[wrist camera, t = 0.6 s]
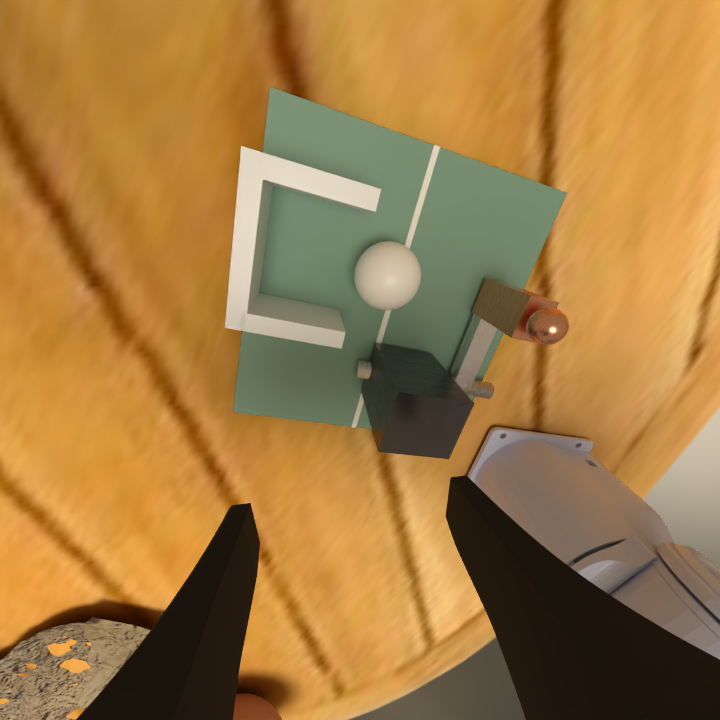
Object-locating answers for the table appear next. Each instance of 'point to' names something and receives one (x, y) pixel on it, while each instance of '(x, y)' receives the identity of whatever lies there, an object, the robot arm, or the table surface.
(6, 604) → the table surface
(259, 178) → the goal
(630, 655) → the robot arm
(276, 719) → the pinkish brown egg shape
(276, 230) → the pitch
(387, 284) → the ball
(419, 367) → the knob lever
